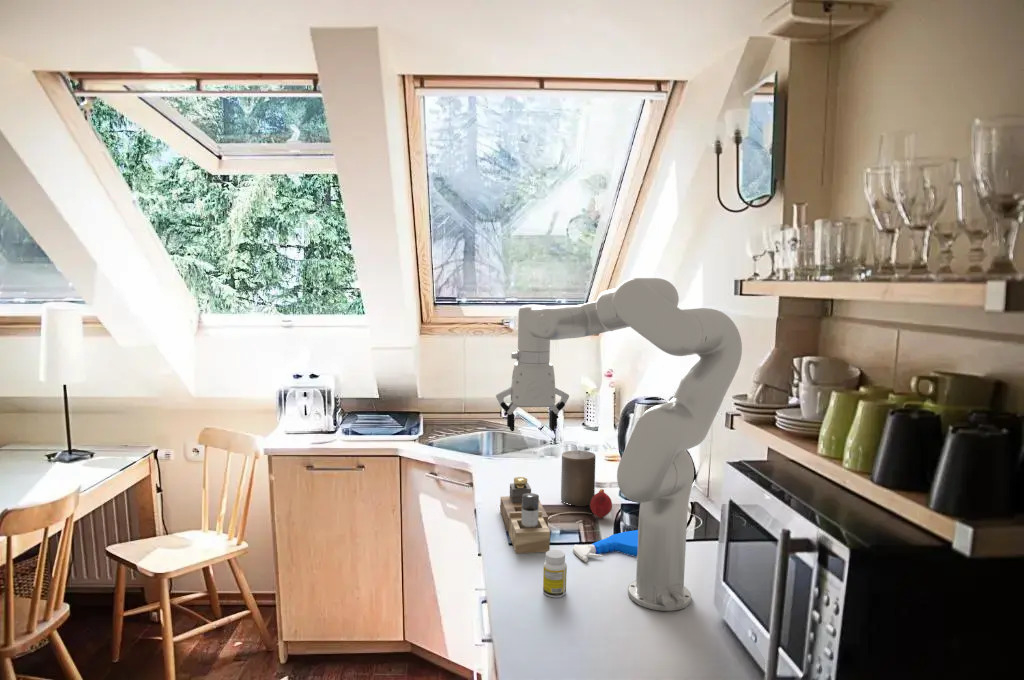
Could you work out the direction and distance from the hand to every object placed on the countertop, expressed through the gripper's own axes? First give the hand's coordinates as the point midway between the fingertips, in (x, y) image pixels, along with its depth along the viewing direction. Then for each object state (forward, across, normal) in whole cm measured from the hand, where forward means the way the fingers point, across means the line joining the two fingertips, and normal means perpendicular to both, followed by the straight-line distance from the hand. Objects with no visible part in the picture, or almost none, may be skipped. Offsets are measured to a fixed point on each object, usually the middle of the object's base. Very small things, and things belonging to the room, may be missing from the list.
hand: (531, 429), depth 163 cm
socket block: (+28, +1, +15) cm, 32 cm away
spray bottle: (+29, +22, -5) cm, 36 cm away
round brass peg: (+23, +1, +21) cm, 31 cm away
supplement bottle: (+28, +1, -25) cm, 38 cm away
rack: (+28, 0, 0) cm, 28 cm away
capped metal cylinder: (+28, 0, 0) cm, 28 cm away
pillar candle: (+28, +19, +29) cm, 45 cm away
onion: (+28, +22, +15) cm, 39 cm away
